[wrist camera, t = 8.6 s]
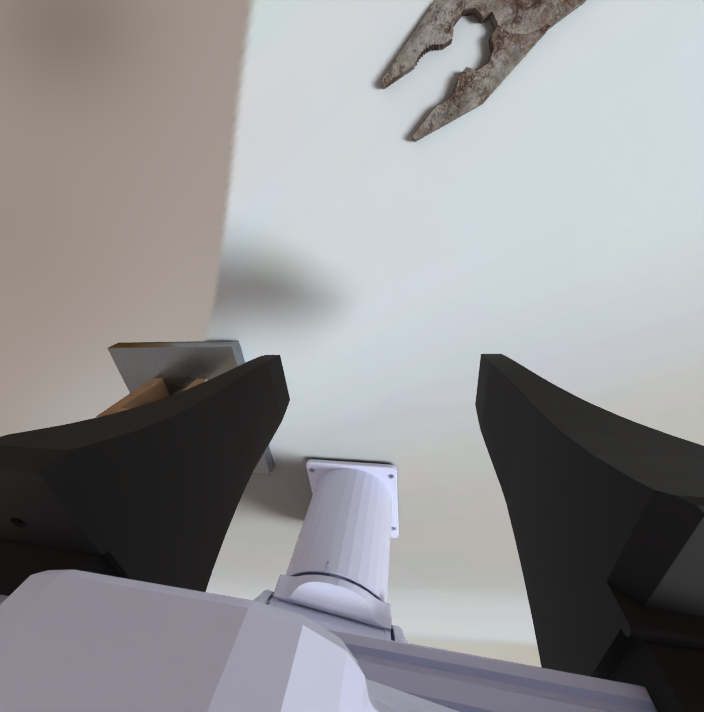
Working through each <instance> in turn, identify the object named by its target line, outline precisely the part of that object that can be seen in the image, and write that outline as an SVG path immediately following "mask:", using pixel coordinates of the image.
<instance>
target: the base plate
mask: <svg viewBox="0 0 704 712" xmlns="http://www.w3.org/2000/svg"><path fill="white" fill-rule="evenodd" d="M108 350H109V352H110V354H111V356H112V358H113V360H114V362H115V364H116V366H117V368H118V370H119V372H120V373H121V376H122V378H123V379H124V382H125V384H126V386H127V387H128V389H129V391H130V393H132V392H133V391H135V390H136V389H138V388H139V387H141V386H142V385H143V384H145V383H146V382H148V381H149V380H151V379H152V378H163V381H164V383H165V385H166V388H167V390H168V392H169V394H170V396H171V395H174V394H177V393H179V392H181V391H183V390H184V389H185V388H186V387H187V386H189V385H190V384H191V383H192V382H194V381H195V380H196V379H207V380H210V379H212V378H214V377H216V376H219V375H221V374H223V373H225V372H227V371H229V370H231V369H233V368H235V367H238V366H240V365H242V364H244V363H245V361H244V358H243V354H242V351H241V347H240V344H239V341H204V342H144V343H143V342H142V343H117V344H115V345H113V346H111V347H109V348H108ZM273 468H274V463H273V459H272V456H271V452H270V449H269V445H268V446H267V448H266V450H265V452H264V453H263V455H262V457H261V459H260V460H259V462H258V464H257V466H256V467H255V469H254V471H253V473H255V474H267V475H270V474H271V472H272V470H273Z"/></svg>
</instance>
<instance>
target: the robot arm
mask: <svg viewBox="0 0 704 712" xmlns="http://www.w3.org/2000/svg"><path fill="white" fill-rule="evenodd" d="M289 401H290V398H289V393H288V389H287V385H286V380H285V376H284V371H283V367H282V362H281V358H280V355H264V356H261V357H258V358H255V359H253V360H251V361H248V362H246V363H244V364H242V365H240V366H238V367H235V368H233V369H231V370H229V371H227V372H225V373H223V374H221V375H219V376H216V377H214V378H212V379H210V380H207V381H205V382H203V383H201V384H198V385H196V386H194V387H192V388H189V389H187V390H184V391H182V392H179V393H177V394H174V395H171V396H168V397H166V398H163V399H160V400H157V401H154V402H151V403H148V404H144V405H141V406H138V407H134V408H131V409H128V410H124V411H121V412H117V413H114V414H110V415H106V416H102V417H98V418H94V419H89V420H85V421H80V422H75V423H71V424H66V425H61V426H55V427H50V428H44V429H38V430H33V431H27V432H21V433H15V434H9V435H5V436H2V437H0V712H704V446H702V445H699V444H696V443H693V442H690V441H687V440H684V439H681V438H678V437H675V436H672V435H669V434H666V433H663V432H661V431H658V430H655V429H652V428H649V427H647V426H644V425H641V424H638V423H636V422H633V421H631V420H628V419H626V418H623V417H621V416H618V415H616V414H614V413H611V412H609V411H607V410H604V409H602V408H600V407H598V406H595V405H593V404H591V403H589V402H587V401H584V400H582V399H580V398H578V397H576V396H574V395H573V394H571V393H569V392H567V391H565V390H563V389H561V388H559V387H557V386H556V385H554V384H552V383H550V382H548V381H547V380H545V379H543V378H541V377H540V376H538V375H536V374H535V373H533V372H531V371H530V370H528V369H526V368H525V367H523V366H522V365H520V364H518V363H517V362H515V361H513V360H512V359H510V358H508V357H506V356H504V355H502V354H481V360H480V369H479V378H478V386H477V395H476V404H475V405H476V410H477V415H478V420H479V425H480V429H481V432H482V435H483V438H484V441H485V444H486V447H487V449H488V452H489V455H490V458H491V460H492V463H493V466H494V469H495V471H496V474H497V477H498V480H499V482H500V485H501V488H502V491H503V494H504V497H505V500H506V504H507V508H508V512H509V516H510V520H511V524H512V528H513V532H514V536H515V540H516V545H517V549H518V554H519V558H520V562H521V567H522V571H523V576H524V581H525V585H526V590H527V595H528V600H529V605H530V609H531V614H532V619H533V624H534V629H535V635H536V640H537V645H538V650H539V656H540V661H541V666H542V668H540V667H535V666H529V665H524V664H518V663H513V662H508V661H502V660H497V659H491V658H486V657H480V656H475V655H469V654H464V653H459V652H453V651H448V650H442V649H437V648H431V647H426V646H420V645H415V644H409V643H408V642H407V640H406V639H405V637H404V634H403V631H402V629H401V628H400V627H399V626H394V625H391V620H392V605H391V604H388V603H387V587H388V571H389V554H390V538H397V537H398V536H399V525H398V497H397V469H396V467H395V466H393V465H389V464H374V463H359V462H344V461H330V460H315V459H309V460H308V461H307V463H306V468H307V472H308V477H309V481H310V486H311V490H312V498H311V501H310V504H309V507H308V510H307V513H306V516H305V519H304V522H303V525H302V528H301V531H300V534H299V537H298V540H297V543H296V546H295V549H294V552H293V555H292V558H291V561H290V564H289V567H288V570H287V573H286V576H285V575H280V577H279V580H278V582H277V585H276V588H275V591H274V592H272V591H270V590H265V591H263V592H262V593H261V595H259V596H258V597H257V598H255V599H254V600H247V599H241V598H235V597H230V596H224V595H218V594H212V593H207V592H205V591H206V588H207V585H208V582H209V579H210V576H211V573H212V570H213V568H214V565H215V562H216V559H217V557H218V554H219V551H220V548H221V546H222V543H223V540H224V538H225V535H226V532H227V530H228V527H229V525H230V522H231V520H232V518H233V515H234V513H235V510H236V508H237V505H238V503H239V501H240V498H241V496H242V494H243V492H244V489H245V487H246V485H247V483H248V480H249V479H250V477H251V475H252V473H253V471H254V469H255V467H256V466H257V464H258V462H259V460H260V459H261V457H262V455H263V453H264V452H265V450H266V448H267V446H268V445H269V443H270V441H271V440H272V438H273V436H274V434H275V432H276V431H277V429H278V427H279V425H280V423H281V422H282V419H283V417H284V414H285V412H286V409H287V406H288V404H289ZM389 474H392V475H389Z"/></svg>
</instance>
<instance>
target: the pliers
mask: <svg viewBox="0 0 704 712" xmlns="http://www.w3.org/2000/svg"><path fill="white" fill-rule="evenodd" d="M585 1H586V0H435V1H434V3H433V4H432V6H431V7H430V8H429V10H428V11H427V13H426V14H425V16H424V17H423V19H422V20H421V22H420V23H419V25H418V26H417V28H416V29H415V31H414V32H413V34H412V35H411V37H410V38H409V40H408V41H407V43H406V44H405V46H404V47H403V49H402V50H401V52H400V53H399V55H398V56H397V58H396V59H395V61H394V62H393V63H392V65H391V66H390V68H389V69H388V71H387V72H386V74H385V75H384V77H383V78H382V83H383V86H384V89H385V88H387V87H388V86H390V85H391V84H393V83H394V82H395V81H397V80H398V79H400V78H401V77H403V76H404V75H406V74H407V73H409V72H410V71H412V70H413V69H414V68H415V66H416V65H417V62H419V59H420V58H421V57H423V54H425V53H426V52H427V53H428V50H429V51H431V49H432V50H434V49H435V50H436V49H438V50H439V49H441V50H443V49H444V48H446V47H447V46H449V45H450V44H451V42H452V37H453V27H454V26H455V24H456V23H457V22H458V20H459V19H460V18H461V16H466V15H474V16H475V17H476V18H477V19H478V21H479V22H480V23H482V22H484V21H485V20H487V19H488V18H490V20H491V22H492V24H493V27H494V29H495V31H494V32H493V34H492V35H491V37H490V39H489V44H490V50H491V56H490V58H489V61H488V63H487V64H486V65H485V66H483V67H482V68H480V69H479V70H474V69H471V68H468V67H466V68H465V70H464V71H463V72H462V73H461V75H460V76H459V78H458V80H457V83H456V87H455V90H454V92H453V94H452V95H451V97H450V98H449V99H447V101H445V102H444V103H443V102H442V104H439V105H437V106H436V107H435V108H434V109H433V111H432V112H431V113H430V114H429V116H428V117H427V118H426V120H425V121H424V122H423V123H422V125H421V126H420V127H419V129H418V130H417V131H416V132H415V134H414V135H413V137H412V138H413V139H414V140H415V142H416V141H418V140H420V139H421V138H423V137H425V136H427V135H428V134H430V133H432V132H434V131H436V130H437V129H439V128H441V127H443V126H444V125H446V124H448V123H450V122H452V121H453V120H455V119H457V118H459V117H460V116H462V115H464V114H466V113H468V112H469V111H471V110H473V109H475V108H476V107H478V106H480V105H482V104H483V103H484V102H485V101H486V99H487V98H488V97H489V96H490V95H491V94H492V93H493V92H494V90H495V89H496V88H497V87H498V86H499V85H500V84H501V82H502V81H503V80H504V79H505V78H506V77H507V76H508V75H509V73H510V72H511V71H512V70H513V69H514V68H515V67H516V66H517V64H518V63H519V62H520V61H521V60H522V59H523V58H524V57H525V55H526V54H527V53H528V52H529V51H530V50H531V49H532V48H533V46H534V45H535V44H536V43H537V42H538V41H539V40H540V39H541V37H542V36H543V35H544V34H545V33H546V32H547V30H548V29H550V28H551V27H552V26H554V25H555V24H556V23H558V22H559V21H560V20H562V19H563V18H564V17H566V16H567V15H568V14H570V13H571V12H572V11H574V10H575V9H576V8H578V7H579V6H580V5H582V4H583V3H584V2H585Z"/></svg>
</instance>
